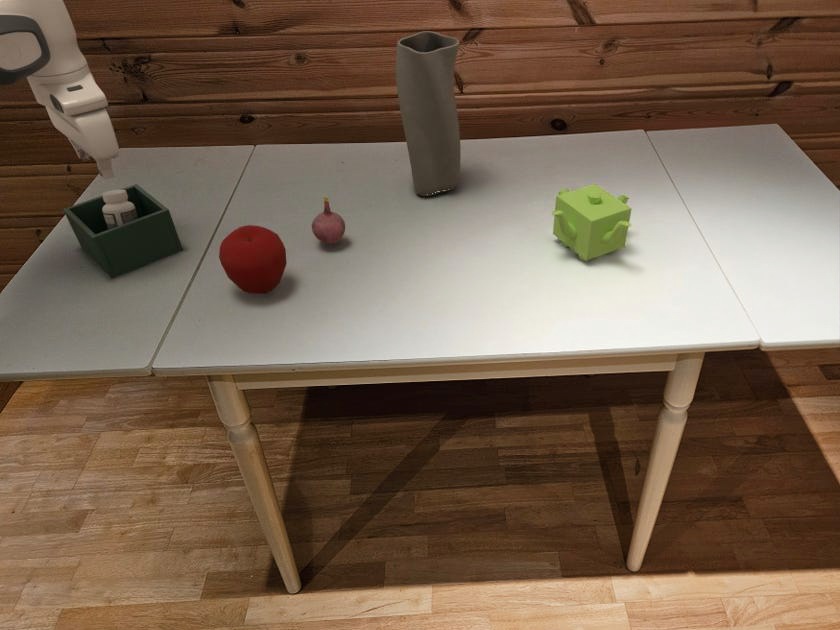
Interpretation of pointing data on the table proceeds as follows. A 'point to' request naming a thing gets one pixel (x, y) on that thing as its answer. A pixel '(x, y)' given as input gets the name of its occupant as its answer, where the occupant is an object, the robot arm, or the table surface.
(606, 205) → the green peg cube
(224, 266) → the apple
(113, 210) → the pill bottle
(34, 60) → the robot arm
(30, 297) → the table surface
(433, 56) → the vase
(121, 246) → the bin
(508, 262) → the table surface
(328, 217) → the vegetable
